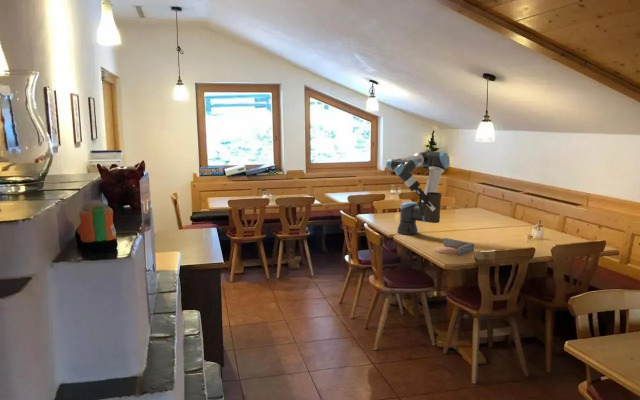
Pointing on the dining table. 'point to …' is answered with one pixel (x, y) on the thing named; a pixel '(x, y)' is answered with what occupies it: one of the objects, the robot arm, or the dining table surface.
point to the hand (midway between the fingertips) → (434, 208)
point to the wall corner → (459, 246)
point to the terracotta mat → (445, 250)
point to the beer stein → (429, 214)
